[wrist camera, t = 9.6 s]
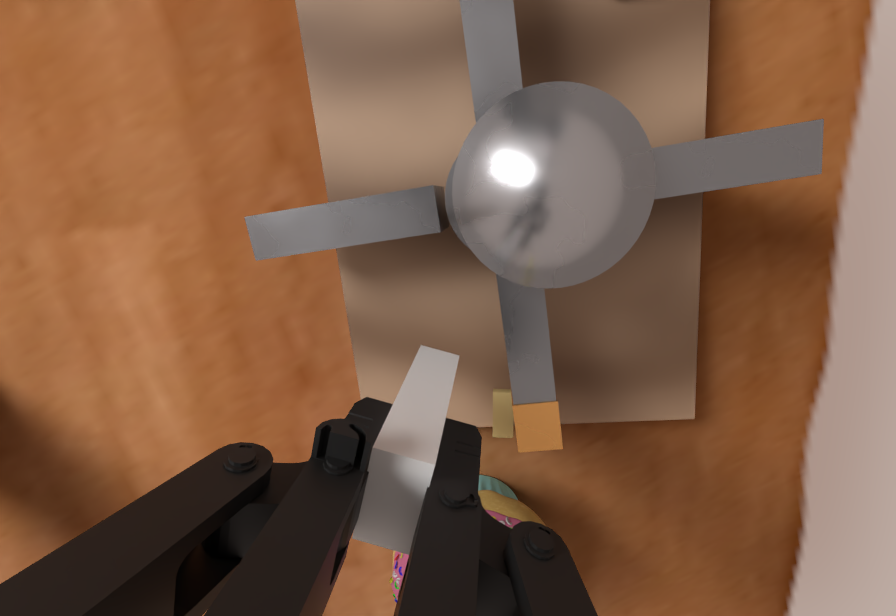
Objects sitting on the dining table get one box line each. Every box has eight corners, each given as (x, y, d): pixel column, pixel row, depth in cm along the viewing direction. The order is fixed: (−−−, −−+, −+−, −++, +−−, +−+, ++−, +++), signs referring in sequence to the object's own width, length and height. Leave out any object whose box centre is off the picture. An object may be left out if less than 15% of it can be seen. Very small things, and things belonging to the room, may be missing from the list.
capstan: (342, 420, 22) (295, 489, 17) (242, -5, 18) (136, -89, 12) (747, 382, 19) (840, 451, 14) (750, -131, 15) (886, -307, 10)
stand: (305, -41, 19) (263, -93, 16) (690, -113, 17) (740, -192, 14) (377, 419, 24) (358, 456, 21) (677, 407, 22) (710, 446, 19)
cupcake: (403, 443, 25) (322, 661, 13) (556, 445, 24) (612, 682, 12) (415, 567, 27) (353, 848, 15) (555, 573, 26) (602, 879, 14)
